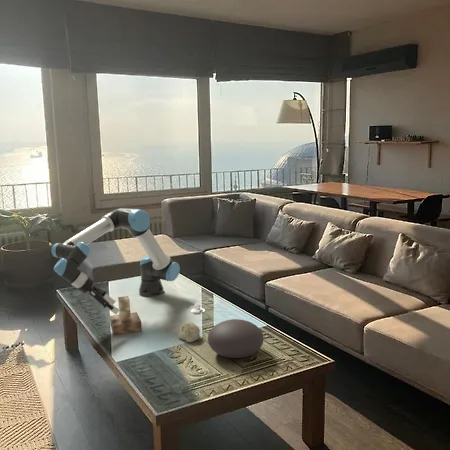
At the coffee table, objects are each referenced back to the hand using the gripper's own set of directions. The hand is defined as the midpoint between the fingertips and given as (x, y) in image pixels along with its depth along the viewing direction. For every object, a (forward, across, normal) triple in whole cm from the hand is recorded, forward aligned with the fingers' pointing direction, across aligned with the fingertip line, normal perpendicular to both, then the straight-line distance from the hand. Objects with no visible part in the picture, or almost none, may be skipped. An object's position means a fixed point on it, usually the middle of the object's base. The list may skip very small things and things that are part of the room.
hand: (115, 307), depth 250 cm
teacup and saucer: (+39, -9, +21) cm, 45 cm away
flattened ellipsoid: (+41, +49, +24) cm, 68 cm away
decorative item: (+31, +24, +14) cm, 42 cm away
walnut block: (+11, 0, -5) cm, 13 cm away
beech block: (+8, -1, -2) cm, 8 cm away
